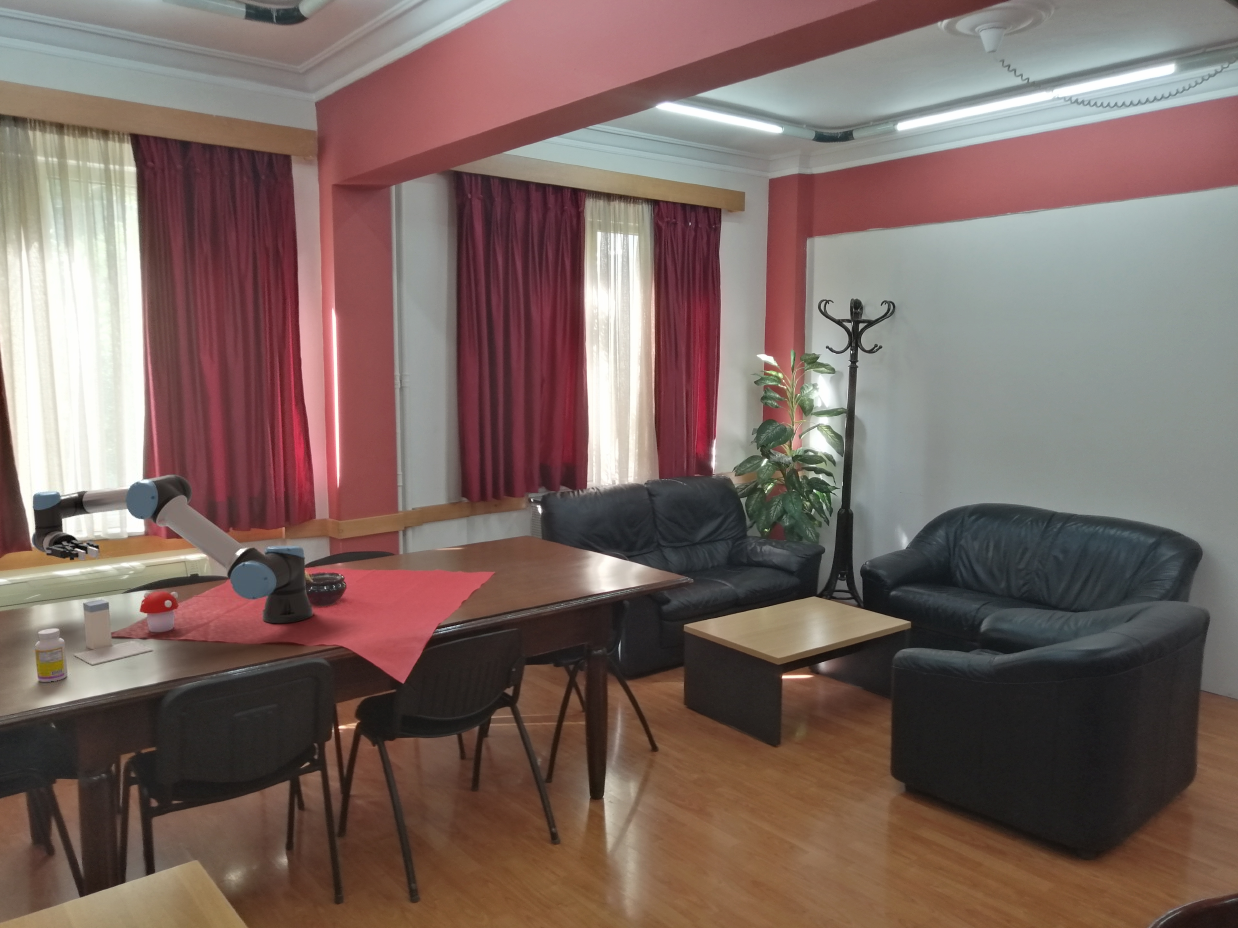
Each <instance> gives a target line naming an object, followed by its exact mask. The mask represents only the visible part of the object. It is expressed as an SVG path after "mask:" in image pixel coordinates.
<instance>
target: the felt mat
mask: <svg viewBox="0 0 1238 928" xmlns="http://www.w3.org/2000/svg"><path fill="white" fill-rule="evenodd" d="M149 652H153V649H152V648H150V647H149V646H145V645H143V644H142V643H139V642H137V641H135V640H130V641H126V642H122V643H117V644H112V646H108V647H103V648H99V649H95V650H92V649H90V650H86V651H83V652H78V653H74V654H73V656H74V657H75V656H76V658H77V657H78V658H77V659H79V660H81V659H82V660H81V661H83V662H85V663H86V662H87V664H88V663H89V665H90V666H96V665H100V664H104V663H108V662H112V661H113V662H114V661H116V660H120V659H123V658H129V657H133V656H138V655H141V654H145V653H149Z"/></svg>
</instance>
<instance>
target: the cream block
mask: <svg viewBox="0 0 1238 928" xmlns="http://www.w3.org/2000/svg"><path fill="white" fill-rule="evenodd" d="M109 604H110V603H109V601H107V600H104V599H102V598H101V599H97V600H91V601H87V602H83V603H82V606H83V616H84V617H83V618H84V631H85V644H86V647H87V648H88V649H90V650H92V649H93V650H95V649H99V648H103V647H108V646H112V645H113V643H112V642H113V641H112V640H113V639H112V631H111V615H110V605H109Z"/></svg>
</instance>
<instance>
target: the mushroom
mask: <svg viewBox="0 0 1238 928" xmlns="http://www.w3.org/2000/svg"><path fill="white" fill-rule="evenodd" d="M178 597H179V594H178V592H177V591H176V592H175V591H173V592H171V593H169V592H166V591H164V590H160V591H159V590H157V591H154V592H150V591H146V592H145V593H144V594H143V599H142V600H141V604H140V608H139V612H140V613H143V614H146V622H147V625H148V630H149V632H151V633H164V632H168V631H171V630H172V629H174V626H175V617H176V616H175V612H174V610H177V609H178V608H179V603H178V600H177V599H178Z"/></svg>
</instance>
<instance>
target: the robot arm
mask: <svg viewBox="0 0 1238 928" xmlns="http://www.w3.org/2000/svg"><path fill="white" fill-rule="evenodd" d="M192 497H193V488H192V485H191V483H190V482H189V481H188V480H187V479H186V478H185V477H184V476H181V475H178V474H166V475H162V476H157V477H156V476H155V477H151V478H143V479H141V480H138V481H135V482H134V483H132V484H130V485H123V486H116V487H108V488H102V489H93V490H81V491H80V490H79V491H76V492H73V493H68V494H60V492H59V491H57V490H56V491H55V490H52V491H51V490H50V491H49V490H48V491H40V492H36V493H34V494H33V496H32V510H33V518H34V519H33V520H34V532H33V534H32V537H31V543H32V546H33V547H35V548H36V550H38V551H40V552H42V553H45V555H46V556H47V557H49V556H51V557H55V558H58V559H59V558H60V559H68V558H69V561H75V559H77V560H79V561H83V562H86V561H87V557H90V558H94V559H96V560H98V559H100V544H98V543H95V542H94V541H93V540H88V541H86V542H85V543H84V542H83V541H79V540H78V539H77V538H76V537H75V535H72V534H69V533H66V532H64V531H63V527H64V526H63V519H68V518H72V517H76V516H82V515H90V514H91V515H92V514H95V513H96V514H97V513H106V512H113V511H115V512H116V511H120V510H121V511H123V510H128V512H129V514H130V515H131V516H132V517H134V518H135V519H138V520H144V521H145V520H147V519H148V520H150V521H151V522H152V523H153V524H155V525H156V526H158V527H160V528H162V527H163V528H164V527H168V528H170V530H172V531H173V532H175V534H177V535H179V536H180V537H181V538H182V539H184V540H185V541H186V542H188V543H190V544H191V545H192V546H193V547H195V548H197V550H199V551H200V552H202V554H204V555H205V556H207V557H208V558H209V559H211V560H212V561H213V562H215V563H216V564H218V565H219V566H220V567H222V568H223V569H224V570H226V577H227V578H228V579H229V580H230V584H231V585H232V589H233V591H234V592H235V594H237V595H238V596H239V597H241V598H244V599H247V600H259V599H262V598H263V599H264V598H265V597H266V599H265V603H264V609H262V620H263V621H264V622H266V623H270V624H288V623H296V622H300V621H301V622H302V621H305V620H308V619H310V618H311V617H313V615H314V611H313V606H312V605H311V602H310V598H309V596H308V594H307V588H306V584H307V583H306V564H305V563H306V562H305V561H306V560H305V559H306V558H305V557H306V556H305V553H304V548H303V547H301V546H299V545H273V546H266V547H265V549H264V553H263V552H261V551H259V550H258V549H257V548H256V547H253V546H250V547H249V546H248V547H246V546H244V545H243V544H241V543H240V542H238V541H237V540H236V539H234V538H233V537H232V536H231V535H229V534H228V533H227V532H225V531H224V530H223V529H222V528H219V526H217V525H216V524H214V523H213V522H212V521H211V520H209V519H207V518H206V517H205V516H204V515H202V514H201V513H199V512H198V511H197V510H196V509H194V508H193V507H191V506H190V505H189V503H190V501H191V500H192ZM86 556H87V557H86Z"/></svg>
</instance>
